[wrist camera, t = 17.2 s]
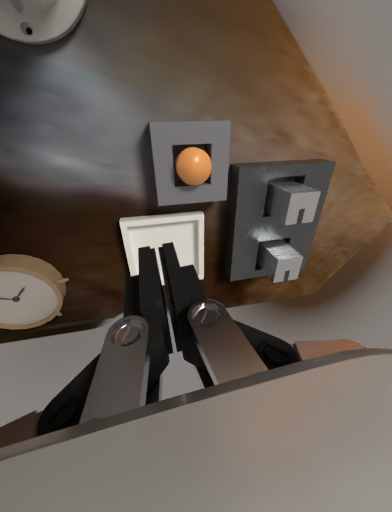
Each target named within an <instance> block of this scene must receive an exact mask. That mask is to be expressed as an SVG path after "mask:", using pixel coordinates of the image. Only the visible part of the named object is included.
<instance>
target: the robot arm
mask: <svg viewBox="0 0 392 512" xmlns="http://www.w3.org/2000/svg"><path fill="white" fill-rule="evenodd" d="M87 1H88V0H0V35H2V36H4V37H6V38H8V39H11V40H14V41H17V42H21V43H25V44H36V45H40V44H47V43H52V42H54V41H57V40H59V39H61V38H63V37H65V36H66V35H67V34H68V33H69V32H71V31H72V30H73V29H74V28H75V26H76V25H77V23H78V22H79V20H80V19H81V17H82V15H83V12H84V10H85V7H86V5H87ZM28 29H32V32H33V33H32V35H29V34H28ZM158 250H159V255H160V261H161V267H162V272H163V278H164V284H165V289H166V295H167V301H168V306H169V311H170V317H171V322H172V327H173V332H174V337H175V343H176V348H177V352H179V351H182V353H183V357H184V360H186V361H187V362H189V363H191V364H193V365H194V369H195V372H196V374H197V377H198V379H199V381H200V384H201V386H202V389H200V390H197V391H194V392H190V393H186V394H183V395H179V396H176V397H173V398H169V399H165V400H162V381H163V377H162V372H163V371H164V369H165V368H166V367H167V365H168V362H169V355H168V354H171V353H173V349H172V342H171V337H170V331H169V324H168V318H167V311H166V305H165V299H164V293H163V288H162V283H161V278H160V273H159V268H158V263H157V258H156V253H155V248H152V249H150V246H146V247H141V248H138V260H139V275H135V276H129V277H126V283H125V300H124V317H123V318H122V319H120V320H118V321H117V322H115V323H114V324H113V325H112V326H111V327H110V328H109V330H108V332H107V335H106V338H105V341H104V344H103V347H102V351H101V353H100V354H99V355H98V356H97V357H96V358H95V359H94V360H92V362H90V363H89V364H88V365H87V366H86V367H85V368H84V369H83V370H82V371H81V372H80V373H79V374H78V375H77V376H76V377H75V378H74V379H73V380H72V381H71V382H70V383H69V384H68V385H67V386H66V387H65V388H64V389H63V390H62V391H61V392H60V393H59V394H58V395H57V396H56V397H54V398H53V399H52V400H51V402H50V403H49V404H48V405H47V406H46V408H45V409H44V410H43V411H41V412H37V411H36V410H35V411H33V412H31V413H29V414H27V415H25V416H22V417H21V418H18V419H16V420H14V421H12V422H10V423H8V424H6V425H4V426H2V427H0V512H392V349H383V348H382V349H381V348H366V347H364V346H363V345H361V344H360V343H358V342H355V341H352V340H346V339H338V340H305V341H294V343H293V344H288V343H287V342H285V341H283V340H281V339H279V338H277V337H274V336H272V335H270V334H267V333H265V332H262V331H260V330H257V329H255V328H252V327H250V326H248V325H245V324H243V323H240V322H238V321H235V320H233V319H232V317H231V316H230V314H229V313H228V311H227V310H226V309H225V307H224V306H223V305H222V304H221V303H219V302H217V301H214V300H207V298H206V295H205V292H204V290H203V287H202V285H201V282H200V280H199V277H198V275H197V272H196V270H195V267H194V265H193V264H192V265H187V266H182V267H180V264H179V261H178V257H177V254H176V251H175V247H174V244H173V242H170V243H164V244H162V247H158Z"/></svg>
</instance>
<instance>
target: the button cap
mask: <svg viewBox="0 0 392 512" xmlns="http://www.w3.org/2000/svg"><path fill="white" fill-rule="evenodd" d="M211 168H212V164H211V160H210V157H209V156H208V154H207V153H206V152H205V151H203V150H201V149H199V148H197V147H193V146H188V147H185V148H183V149H181V150H180V151H179V152H178V154H177V156H176V158H175V170H176V172H177V174H178V176H179V177H180V178H181V179H182V180H183V181H184V182H185V183H186V184H188V185H200V184H202V183H203V182H205V181H206V180H207V179H208V177H209V175H210V173H211Z"/></svg>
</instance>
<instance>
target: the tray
mask: <svg viewBox="0 0 392 512" xmlns="http://www.w3.org/2000/svg"><path fill="white" fill-rule="evenodd" d="M119 223H120V228H121V232H122V237H123V242H124V246H125V251H126V256H127V260H128V265H129V269H130V274H131V276H135V275H139V260H138V248H141V247H146V246H150V249H152V248H155V253H156V258H157V263H158V268H159V273H160V278H161V283H162V285H165V284H164V278H163V272H162V267H161V261H160V255H159V250H158V247H162V244H164V243H170V242H173V244H174V247H175V251H176V254H177V257H178V261H179V264H180V267H182V266H187V265H192V264H193V265H194V267H195V270H196V272H197V275H198V277H199V280H200V279H204V213H203V212H202V210H201V211H190V212H179V213H169V214H158V215H147V216H137V217H126V218H120V221H119Z"/></svg>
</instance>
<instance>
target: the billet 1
mask: <svg viewBox="0 0 392 512" xmlns="http://www.w3.org/2000/svg"><path fill="white" fill-rule="evenodd" d="M320 193H321V191H319V190H317V189H314V188H311V187H309V186H306V185H303V184H300V183H298V182H295V181H292V180H290V179H280V180H269V181H268V187H267V194H266V200H265V207H264V211H265V212H266V213H268V214H269V215H271V216H272V217H273V218H275V219H276V220H278V221H279V222H281V223H282V224H284V225H295V224H303V223H309V222H313V218H314V215H315V211H316V208H317V204H318V200H319V197H320Z"/></svg>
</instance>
